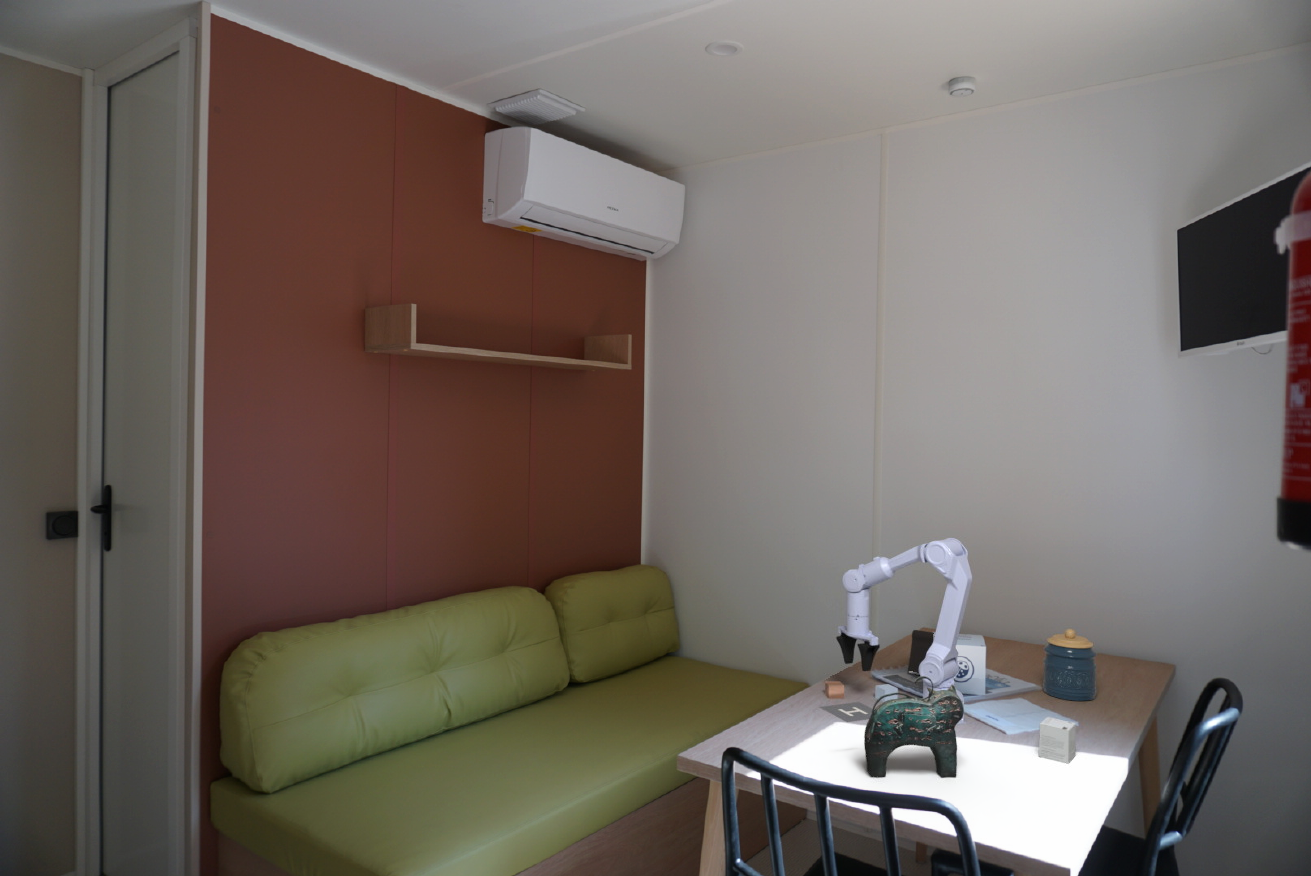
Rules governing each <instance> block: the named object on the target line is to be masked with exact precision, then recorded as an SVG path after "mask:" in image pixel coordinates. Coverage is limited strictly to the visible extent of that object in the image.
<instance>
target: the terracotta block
mask: <svg viewBox="0 0 1311 876" xmlns="http://www.w3.org/2000/svg"><path fill="white" fill-rule="evenodd" d="M824 695H825V696H826V697H827V698H828V699H829V700H830V699H831V700H834V699H835V700H837V699H840V700H841V699H842V700H843V699H845V685H844V684H843V683H842V682H841V681H824Z"/></svg>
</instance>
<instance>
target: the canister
mask: <svg viewBox="0 0 1311 876" xmlns="http://www.w3.org/2000/svg"><path fill="white" fill-rule="evenodd" d="M1046 641H1047V643H1048V644H1046V645H1045V646H1044V647H1043V648H1042V649H1043V651H1044V652H1045V655H1044V656H1045V657H1044V658H1043V660H1042V662H1043V681H1042V687H1043V692H1044V693H1045V694H1046V695H1048V696H1051V697H1053V698H1057V699H1061V700H1067V701H1074V702H1085V701H1086V702H1087V701H1092V700H1095V698H1096V694H1097V690H1098V689H1097V668H1098V666H1097V664H1096V661H1095V658H1096V657H1097V655H1098V653H1097V651H1095V650H1094V649H1093V647H1094V643H1093V642H1091V641H1090V640H1088V638H1086V637H1084V636H1081V635H1076V631H1075V629H1072V628H1067V629H1065V631H1064V633H1058V634H1054V635H1052V636H1050V637H1048V638H1047V639H1046Z"/></svg>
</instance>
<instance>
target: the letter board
mask: <svg viewBox="0 0 1311 876" xmlns="http://www.w3.org/2000/svg"><path fill="white" fill-rule="evenodd" d="M819 708H820V709H822V710H824V711H825V712H827V713H829V714H831V715H832V716H835V717H837V718H838V719H840V720H842V721H844V722H846V723H852V722H859V721H865V720H869V718H870V716H871V714H872V709H873V707H870V706H868V705H866V704H863V703H862V702H860V701H854V702H847V703H842V704H841V703H839V704H833V705H824V706H819Z"/></svg>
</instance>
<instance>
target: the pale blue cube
mask: <svg viewBox="0 0 1311 876" xmlns="http://www.w3.org/2000/svg"><path fill="white" fill-rule="evenodd" d="M874 690H875V693H874V698H875V699H876V700H877V699H879V698H880V697H881V696H884V695H886V694H890V693H899V689H898V687H895V686H894V685H891V684H889V683H886V684H877V685H875V689H874ZM898 697H899V695H892V696H888V697H884V698H883V699H881V700H880V701H879V702H882V703H884V702H885V701H887V700H891V699H899V698H898Z"/></svg>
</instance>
